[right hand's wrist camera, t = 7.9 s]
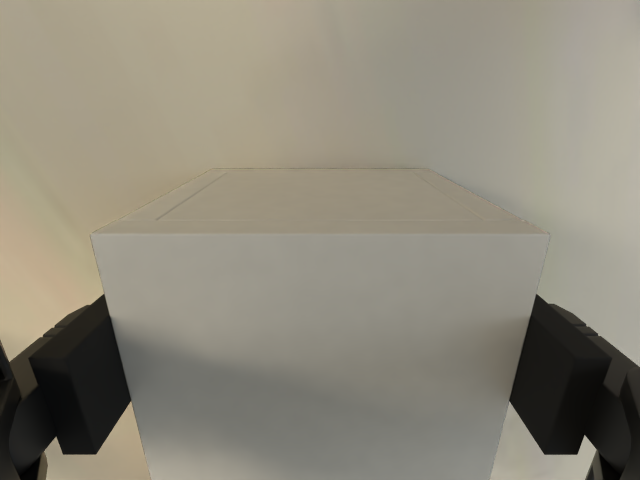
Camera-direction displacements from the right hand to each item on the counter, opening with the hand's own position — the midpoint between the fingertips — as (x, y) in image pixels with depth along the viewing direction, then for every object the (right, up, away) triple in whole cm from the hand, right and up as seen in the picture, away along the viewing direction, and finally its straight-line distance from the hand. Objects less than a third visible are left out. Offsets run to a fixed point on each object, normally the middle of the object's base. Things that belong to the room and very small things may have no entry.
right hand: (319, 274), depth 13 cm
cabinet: (0, -5, +7) cm, 9 cm away
